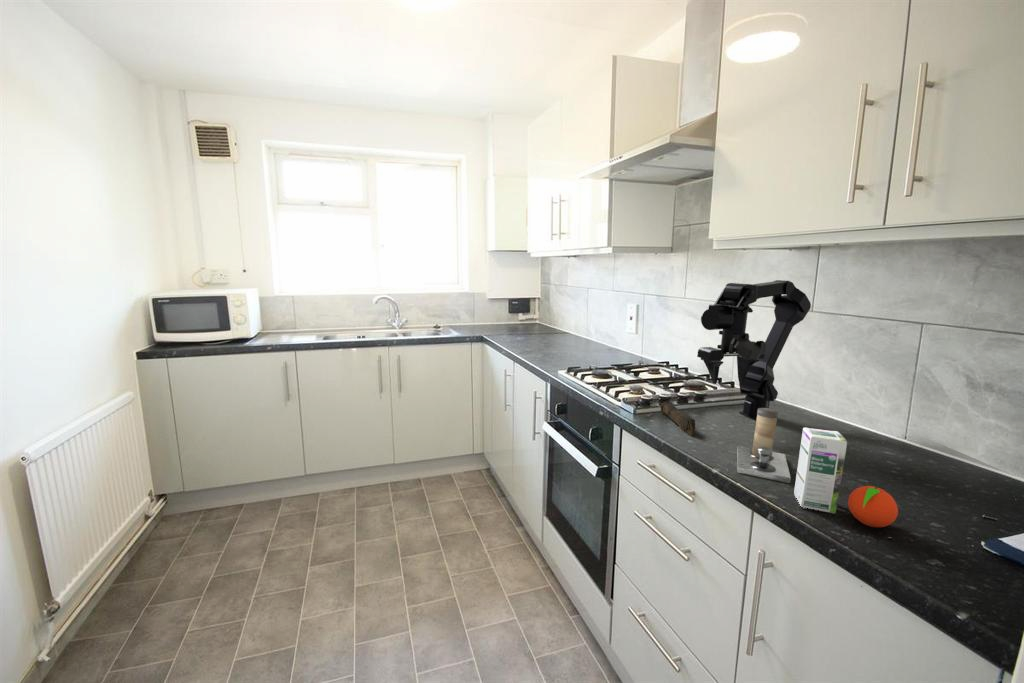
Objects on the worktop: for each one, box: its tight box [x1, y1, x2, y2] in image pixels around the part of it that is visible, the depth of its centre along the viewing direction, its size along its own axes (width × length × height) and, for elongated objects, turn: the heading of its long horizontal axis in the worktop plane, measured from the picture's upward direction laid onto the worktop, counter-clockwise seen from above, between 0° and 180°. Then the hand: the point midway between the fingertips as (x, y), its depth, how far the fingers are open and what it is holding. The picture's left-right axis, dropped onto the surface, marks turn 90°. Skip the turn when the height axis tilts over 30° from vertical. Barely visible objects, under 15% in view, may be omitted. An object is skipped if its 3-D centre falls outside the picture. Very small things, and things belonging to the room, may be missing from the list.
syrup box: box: [793, 427, 848, 515], centre depth 85 cm, size 6×6×14 cm
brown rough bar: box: [660, 401, 696, 437], centre depth 127 cm, size 19×4×5 cm, turn 0°
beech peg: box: [752, 408, 779, 459], centre depth 103 cm, size 4×4×11 cm
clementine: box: [847, 485, 899, 528], centre depth 79 cm, size 8×7×7 cm
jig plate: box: [736, 445, 791, 484], centre depth 101 cm, size 14×10×5 cm
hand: (727, 382), depth 127 cm, fingers open, 9 cm apart
